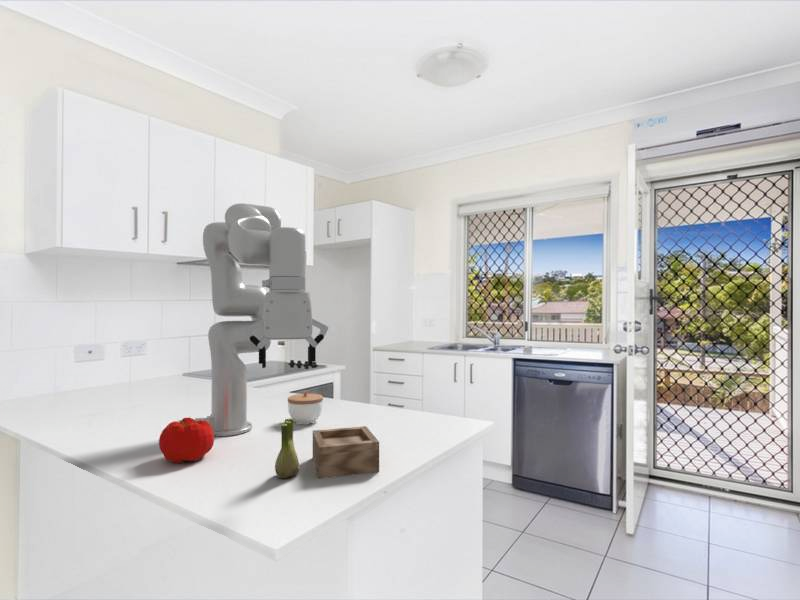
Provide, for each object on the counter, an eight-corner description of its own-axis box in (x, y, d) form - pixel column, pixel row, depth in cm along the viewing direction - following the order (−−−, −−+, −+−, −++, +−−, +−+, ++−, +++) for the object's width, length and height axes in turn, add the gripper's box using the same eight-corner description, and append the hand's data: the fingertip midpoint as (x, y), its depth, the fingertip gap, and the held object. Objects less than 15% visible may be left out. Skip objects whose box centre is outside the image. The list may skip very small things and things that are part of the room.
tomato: (211, 463, 102) (211, 424, 103) (153, 469, 99) (153, 428, 99) (216, 449, 113) (216, 413, 113) (163, 453, 109) (164, 416, 109)
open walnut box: (319, 478, 94) (319, 447, 94) (312, 457, 106) (312, 430, 106) (379, 471, 98) (379, 441, 98) (365, 452, 110) (365, 426, 110)
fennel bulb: (285, 483, 92) (285, 424, 92) (268, 478, 94) (268, 421, 94) (304, 473, 97) (304, 418, 97) (287, 469, 99) (287, 415, 99)
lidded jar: (326, 424, 136) (326, 393, 136) (290, 428, 132) (290, 396, 132) (319, 416, 146) (319, 387, 146) (285, 419, 142) (285, 389, 142)
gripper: (244, 284, 89) (244, 370, 89) (330, 285, 95) (330, 366, 94) (245, 286, 97) (245, 365, 96) (325, 287, 102) (325, 362, 101)
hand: (287, 366), depth 95 cm, fingers open, 9 cm apart
